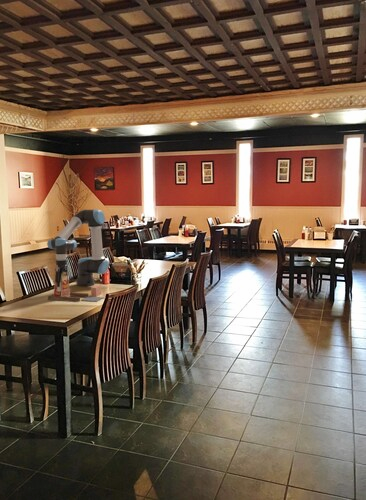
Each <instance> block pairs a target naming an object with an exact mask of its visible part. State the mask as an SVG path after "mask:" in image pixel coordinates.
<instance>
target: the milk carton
mask: <svg viewBox="0 0 366 500" xmlns="http://www.w3.org/2000/svg"><path fill="white" fill-rule="evenodd" d="M60 282H61V291H57V282H55V281H54V289H53V294H54V296H62V297H71V296H70V293H71V292H70V283H69V275H68V276H67V274H66V272H63V273H62V275H61V280H60Z"/></svg>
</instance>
